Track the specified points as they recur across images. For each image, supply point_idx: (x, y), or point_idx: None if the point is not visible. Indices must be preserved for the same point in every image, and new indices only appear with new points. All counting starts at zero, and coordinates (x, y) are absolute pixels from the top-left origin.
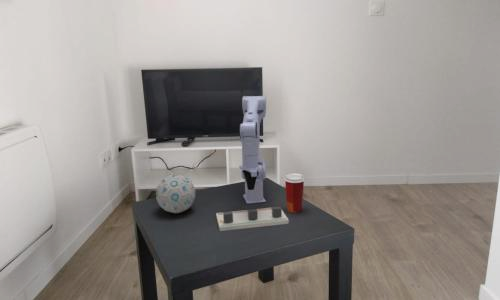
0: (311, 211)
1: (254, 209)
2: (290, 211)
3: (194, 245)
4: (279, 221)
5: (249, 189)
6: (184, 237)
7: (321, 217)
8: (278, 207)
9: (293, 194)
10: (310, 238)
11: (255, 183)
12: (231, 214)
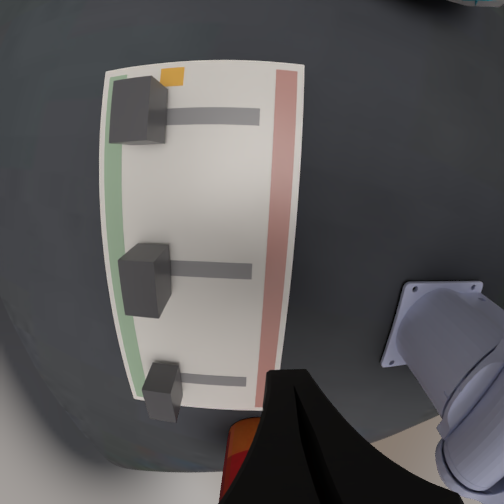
0: None
1: (152, 306)
2: (238, 423)
3: (55, 4)
4: (126, 368)
5: (265, 381)
6: None
7: (178, 461)
8: (165, 414)
9: (222, 491)
10: (51, 389)
11: (447, 392)
12: (110, 134)
